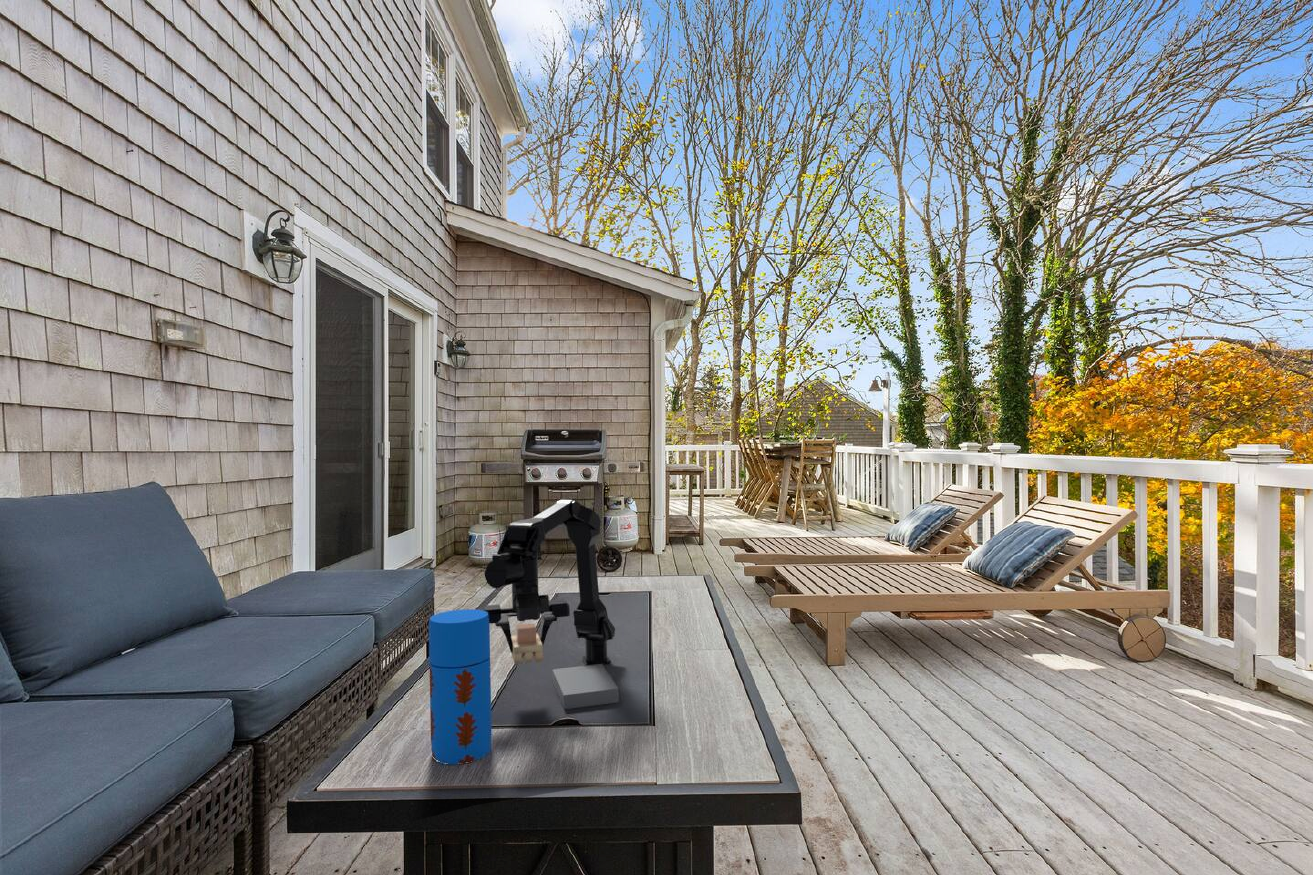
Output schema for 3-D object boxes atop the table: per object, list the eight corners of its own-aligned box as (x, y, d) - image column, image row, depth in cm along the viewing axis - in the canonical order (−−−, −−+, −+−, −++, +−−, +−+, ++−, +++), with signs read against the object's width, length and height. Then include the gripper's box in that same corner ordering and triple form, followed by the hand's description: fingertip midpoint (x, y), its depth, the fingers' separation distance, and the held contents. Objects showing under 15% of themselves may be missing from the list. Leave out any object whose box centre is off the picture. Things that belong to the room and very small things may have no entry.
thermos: (436, 770, 118) (433, 626, 118) (426, 747, 128) (424, 613, 128) (498, 756, 123) (495, 618, 123) (484, 734, 133) (482, 606, 133)
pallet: (511, 651, 153) (510, 635, 154) (537, 648, 155) (537, 632, 155) (514, 664, 144) (514, 647, 144) (542, 661, 146) (542, 644, 146)
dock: (552, 682, 162) (552, 669, 162) (602, 676, 165) (601, 663, 165) (563, 709, 145) (563, 695, 145) (618, 702, 148) (618, 688, 148)
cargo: (516, 638, 151) (515, 625, 151) (534, 636, 152) (534, 623, 152) (517, 643, 147) (517, 629, 147) (536, 641, 148) (536, 627, 148)
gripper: (482, 589, 139) (484, 666, 139) (572, 582, 145) (574, 656, 144) (480, 580, 150) (482, 650, 150) (565, 573, 155) (566, 642, 155)
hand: (526, 650), depth 150 cm, fingers closed on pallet, 6 cm apart
